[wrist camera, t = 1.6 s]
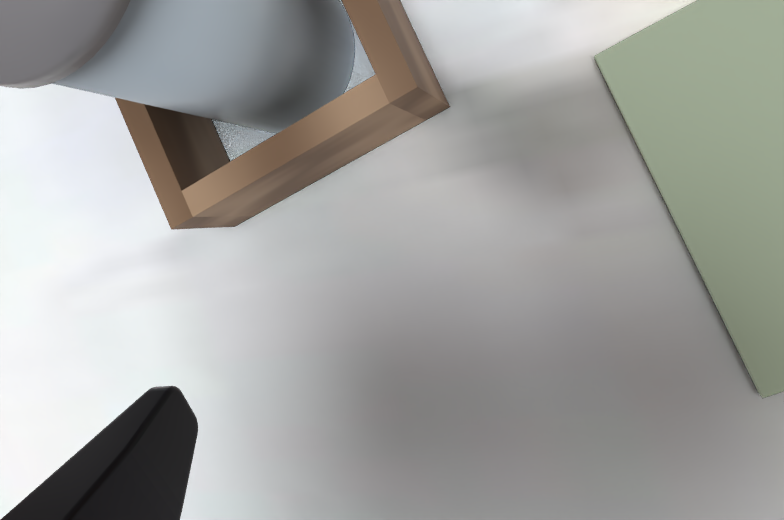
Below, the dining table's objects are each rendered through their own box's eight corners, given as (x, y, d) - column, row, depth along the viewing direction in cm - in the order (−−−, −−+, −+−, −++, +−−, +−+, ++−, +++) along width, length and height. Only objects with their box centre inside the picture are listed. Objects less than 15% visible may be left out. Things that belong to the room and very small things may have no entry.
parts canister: (251, 170, 26) (-49, 137, 14) (186, 25, 27) (-154, -121, 15) (390, 88, 24) (172, -29, 12) (318, -68, 25) (41, -323, 13)
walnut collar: (234, 226, 27) (171, 229, 23) (140, 11, 27) (64, -21, 24) (450, 106, 23) (417, 86, 20) (336, -135, 24) (284, -199, 20)
